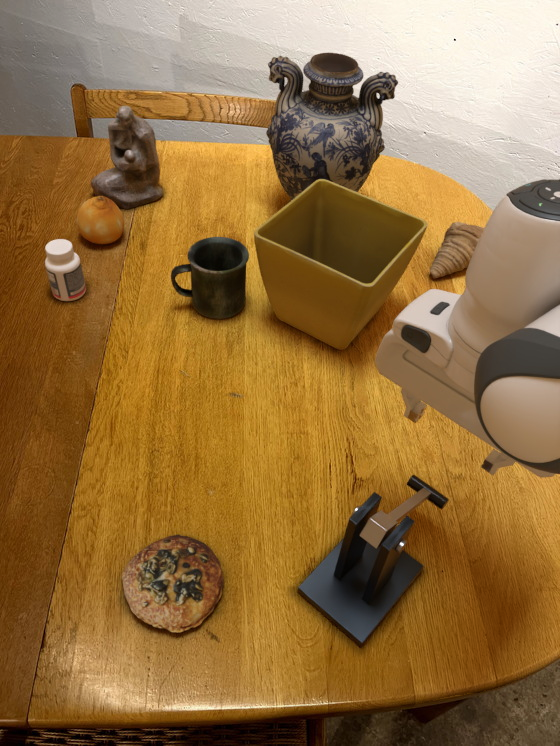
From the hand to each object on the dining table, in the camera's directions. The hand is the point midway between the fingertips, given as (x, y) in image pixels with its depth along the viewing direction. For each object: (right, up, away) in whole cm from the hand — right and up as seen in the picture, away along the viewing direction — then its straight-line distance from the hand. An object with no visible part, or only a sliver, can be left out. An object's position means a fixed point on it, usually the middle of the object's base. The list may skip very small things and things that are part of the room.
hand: (450, 441), depth 68 cm
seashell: (+14, +27, +48) cm, 57 cm away
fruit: (-49, +31, +47) cm, 75 cm away
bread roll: (-30, -17, +5) cm, 35 cm away
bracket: (-9, -17, +7) cm, 20 cm away
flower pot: (-10, +17, +37) cm, 42 cm away
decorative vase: (-11, +38, +57) cm, 69 cm away
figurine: (-46, +41, +57) cm, 84 cm away
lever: (-5, -9, +4) cm, 11 cm away
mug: (-29, +18, +37) cm, 50 cm away
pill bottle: (-52, +20, +37) cm, 67 cm away
